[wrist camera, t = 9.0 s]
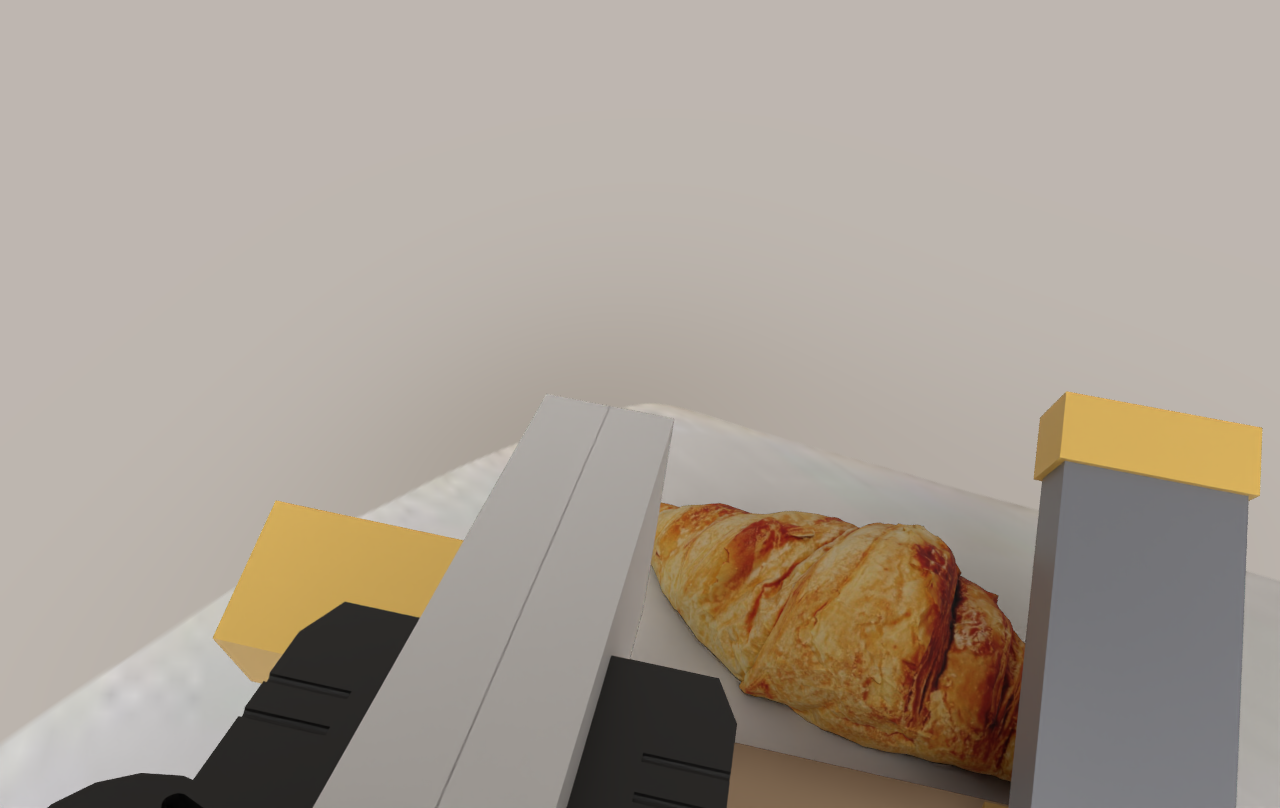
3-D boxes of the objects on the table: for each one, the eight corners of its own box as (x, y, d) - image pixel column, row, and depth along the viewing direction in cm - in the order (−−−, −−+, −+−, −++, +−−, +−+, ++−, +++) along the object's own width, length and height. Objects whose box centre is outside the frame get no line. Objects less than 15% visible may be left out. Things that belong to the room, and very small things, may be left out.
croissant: (588, 641, 47) (542, 543, 41) (711, 478, 52) (686, 368, 46) (1064, 920, 37) (1094, 843, 31) (1167, 686, 41) (1211, 579, 35)
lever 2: (1261, 1036, 25) (1280, 431, 30) (988, 969, 26) (1048, 388, 31) (1214, 1015, 28) (1238, 455, 32) (963, 954, 28) (1023, 414, 33)
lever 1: (605, 891, 28) (591, 725, 16) (376, 835, 29) (181, 630, 16) (625, 799, 30) (627, 575, 17) (405, 748, 30) (246, 494, 18)
